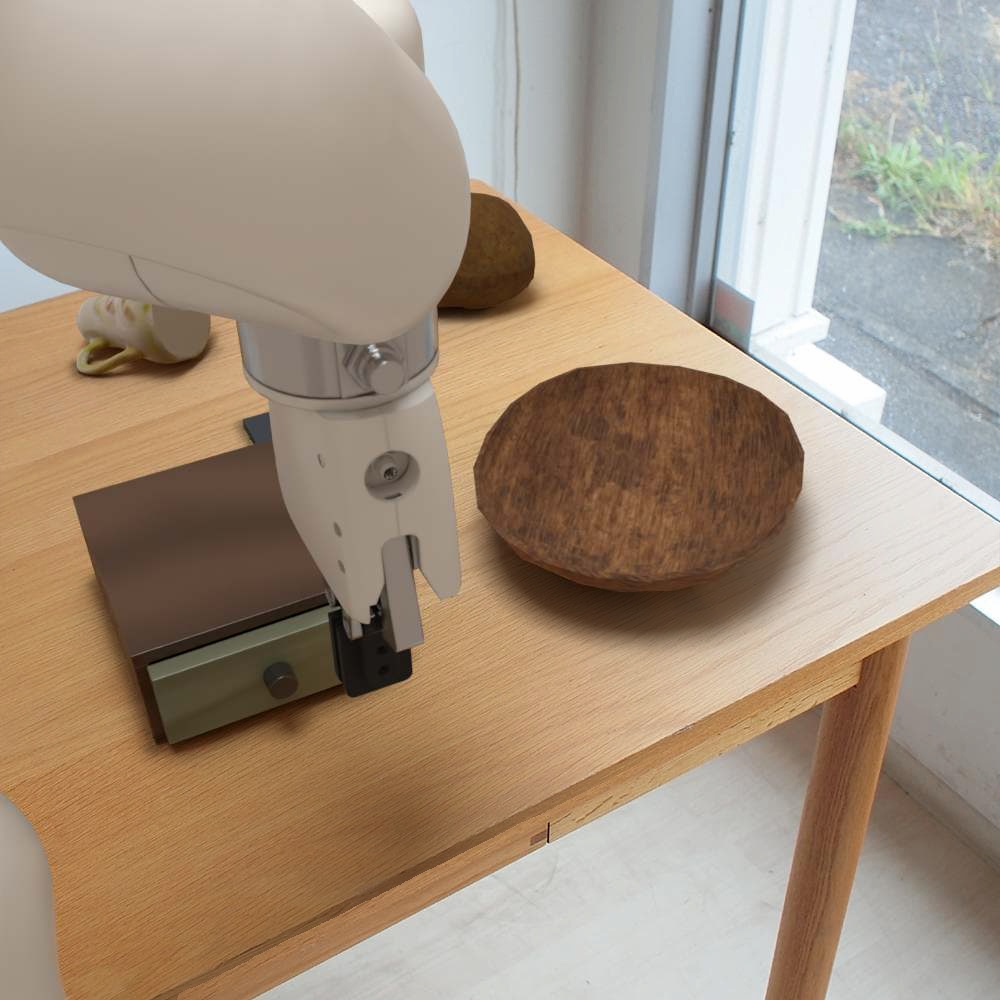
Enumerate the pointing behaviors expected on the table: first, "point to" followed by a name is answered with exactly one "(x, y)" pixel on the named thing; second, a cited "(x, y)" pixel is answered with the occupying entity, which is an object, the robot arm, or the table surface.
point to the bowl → (639, 475)
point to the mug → (139, 332)
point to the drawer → (244, 673)
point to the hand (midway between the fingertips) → (374, 677)
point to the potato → (492, 257)
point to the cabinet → (195, 558)
